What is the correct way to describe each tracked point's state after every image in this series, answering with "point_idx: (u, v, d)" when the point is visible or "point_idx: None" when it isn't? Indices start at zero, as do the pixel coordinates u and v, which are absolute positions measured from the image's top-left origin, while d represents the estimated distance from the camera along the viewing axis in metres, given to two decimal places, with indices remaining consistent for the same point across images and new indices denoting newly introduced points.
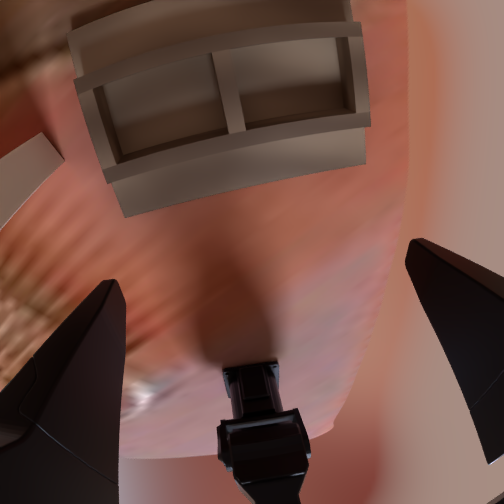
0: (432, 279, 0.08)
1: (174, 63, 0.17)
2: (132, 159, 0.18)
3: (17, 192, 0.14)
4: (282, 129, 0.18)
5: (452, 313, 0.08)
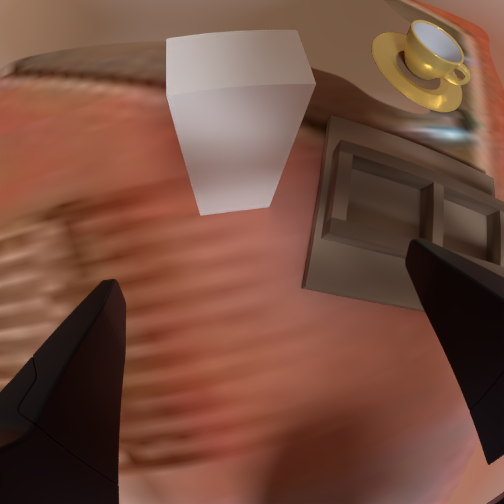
0: (432, 279, 0.08)
1: (398, 183, 0.23)
2: (359, 225, 0.20)
3: None
4: None
5: (452, 313, 0.08)
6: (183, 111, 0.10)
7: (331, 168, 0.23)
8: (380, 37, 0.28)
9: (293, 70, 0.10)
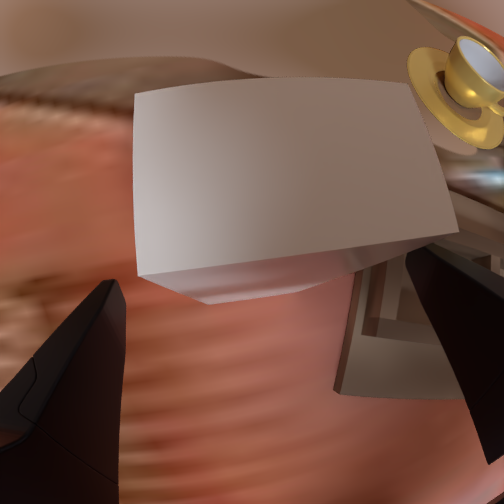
0: (432, 279, 0.08)
1: None
2: (410, 323, 0.15)
3: None
4: None
5: (452, 313, 0.08)
6: (181, 280, 0.05)
7: None
8: (415, 53, 0.23)
9: (420, 198, 0.05)
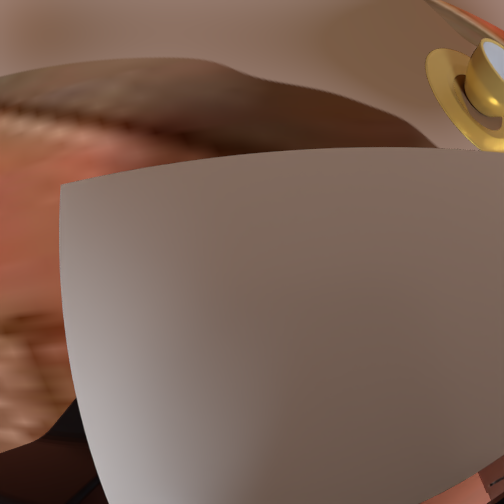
0: None
1: None
2: None
3: None
4: None
5: None
6: None
7: None
8: (433, 55, 0.20)
9: None
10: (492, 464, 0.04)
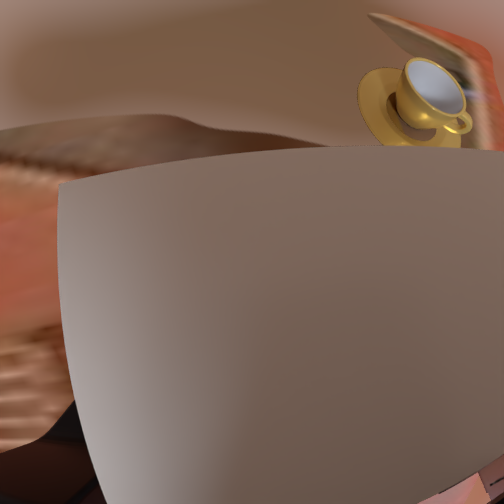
0: None
1: None
2: None
3: None
4: None
5: None
6: None
7: None
8: (367, 78, 0.26)
9: None
10: (492, 464, 0.04)
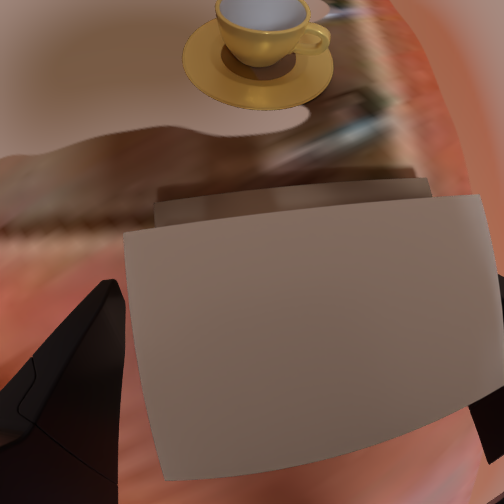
0: None
1: None
2: None
3: None
4: None
5: None
6: None
7: None
8: (196, 34, 0.22)
9: (476, 361, 0.03)
10: None
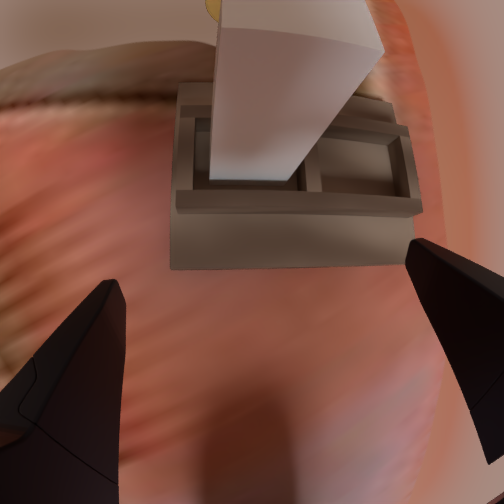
0: (432, 279, 0.08)
1: None
2: None
3: None
4: (352, 199, 0.20)
5: (452, 313, 0.08)
6: (233, 51, 0.08)
7: None
8: None
9: (362, 33, 0.08)
10: None
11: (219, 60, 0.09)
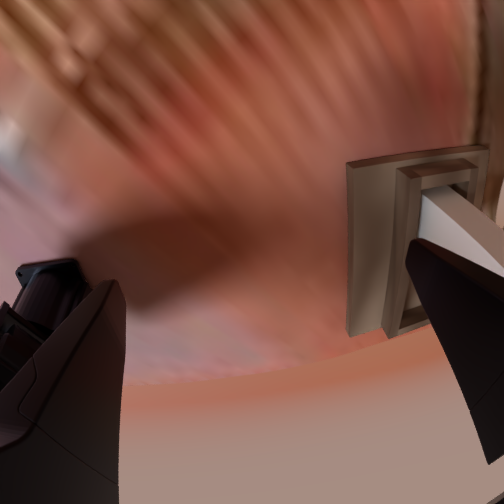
0: (432, 279, 0.08)
1: None
2: (418, 202, 0.21)
3: None
4: (402, 295, 0.26)
5: (452, 313, 0.08)
6: None
7: (451, 160, 0.21)
8: None
9: None
10: None
11: None
